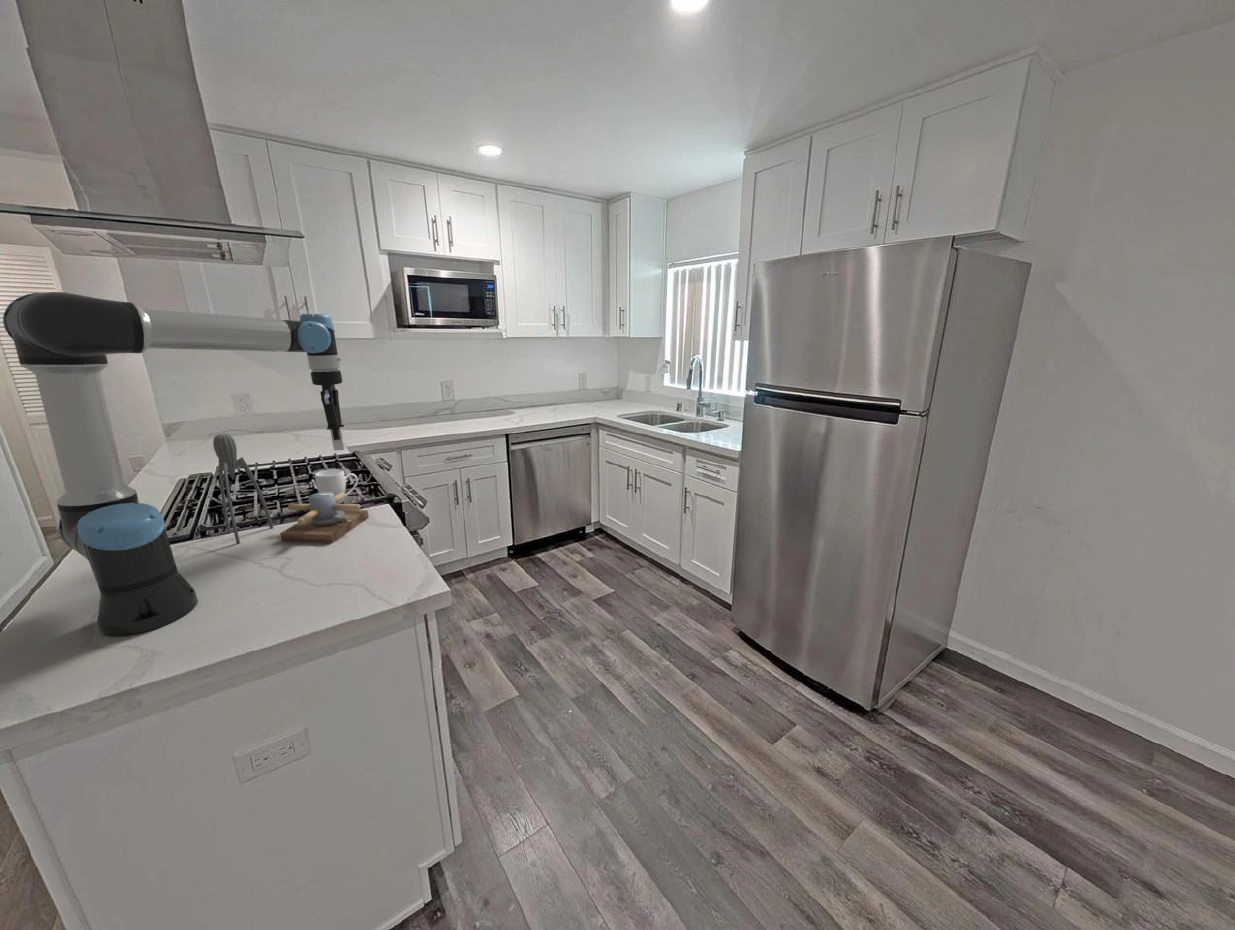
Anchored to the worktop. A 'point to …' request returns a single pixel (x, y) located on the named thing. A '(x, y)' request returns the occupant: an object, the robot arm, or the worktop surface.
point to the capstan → (324, 509)
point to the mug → (333, 482)
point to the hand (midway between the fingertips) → (339, 449)
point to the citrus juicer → (229, 462)
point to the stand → (324, 529)
